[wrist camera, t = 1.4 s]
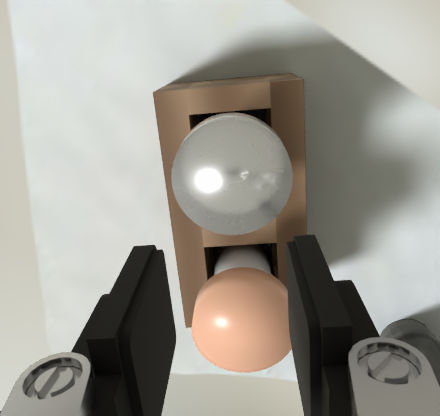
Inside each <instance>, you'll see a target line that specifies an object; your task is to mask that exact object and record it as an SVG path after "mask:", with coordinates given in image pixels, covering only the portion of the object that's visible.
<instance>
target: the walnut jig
mask: <svg viewBox="0 0 440 416" xmlns="http://www.w3.org/2000/svg"><path fill="white" fill-rule="evenodd" d="M153 97H154V104H155V111H156V118H157V125H158V133H159V140H160V147H161V154H162V161H163V168H164V175H165V183H166V190H167V197H168V204H169V211H170V218H171V225H172V232H173V240H174V247H175V254H176V261H177V268H178V275H179V282H180V290H181V297H182V304H183V311H184V318H185V325H186V328H187V327H192V320H193V314H194V308H195V302H196V298H197V295H198V293H199V291H200V289H201V288H202V286H203V285H204V284H205V283H206V282H207V281H208V280H209V279H210V278H211V277H213V276H214V272H215V268H214V258H213V249H212V247H216V246H232V245H248V244H263V243H272V258H273V265H270V271H271V274H272V275H273V276H275V277H276V278H277V279H278V280H280V281H281V282H282V283H283V285H284V286H285V287H286V289H287V262H286V242H290V241H293V237H294V236H300V235H306V177H305V119H304V79H302V78H300V77H298V76H296V75H294V74H292V73H288V74H276V75H265V76H254V77H243V78H232V79H221V80H209V81H198V82H187V83H176V84H167V85H166V86H164V87H162V88H160V89H158V90H157V91H155V92H153ZM264 108H265V116H266V124H267V125H269V126H270V127H271V128H272V129H273V130H274V131H275V132H276V134H277V135H278V136H279V138H280V139H281V141H282V143H283V145H284V147H285V149H286V151H287V153H288V156H289V158H290V161H291V166H292V173H293V182H292V188H291V193H290V196H289V198H288V200H287V203H286V205H285V206H284V208H283V209H282V211H281V212H280V213H279V214H278V216H277V217H276V218H274V219H273V220H272V221H271V222H270V223H268V224H267V225H266V226H264V227H262V228H260V229H258V230H256V231H253V232H250V233H246V234H240V235H224V234H218V233H214V232H211V231H209V230H206V229H204V228H202V227H200V226H199V225H197V224H196V223H194V222H193V221H192V220H191V219H190V218H189V217H188V216H187V215H186V214H185V213H184V212H183V210H182V209H181V207H180V206H179V204H178V202H177V200H176V198H175V195H174V192H173V187H172V179H171V175H172V166H173V162H174V159H175V156H176V154H177V152H178V150H179V148H180V146H181V144H182V143H183V141H184V139H185V138H186V136H187V135H188V133H189V132H190V131H191V130H192V129H193V128H194V127H195V126H196V125H198V124H199V116H198V114H205V113H217V112H229V111H241V110H253V109H264Z"/></svg>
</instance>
